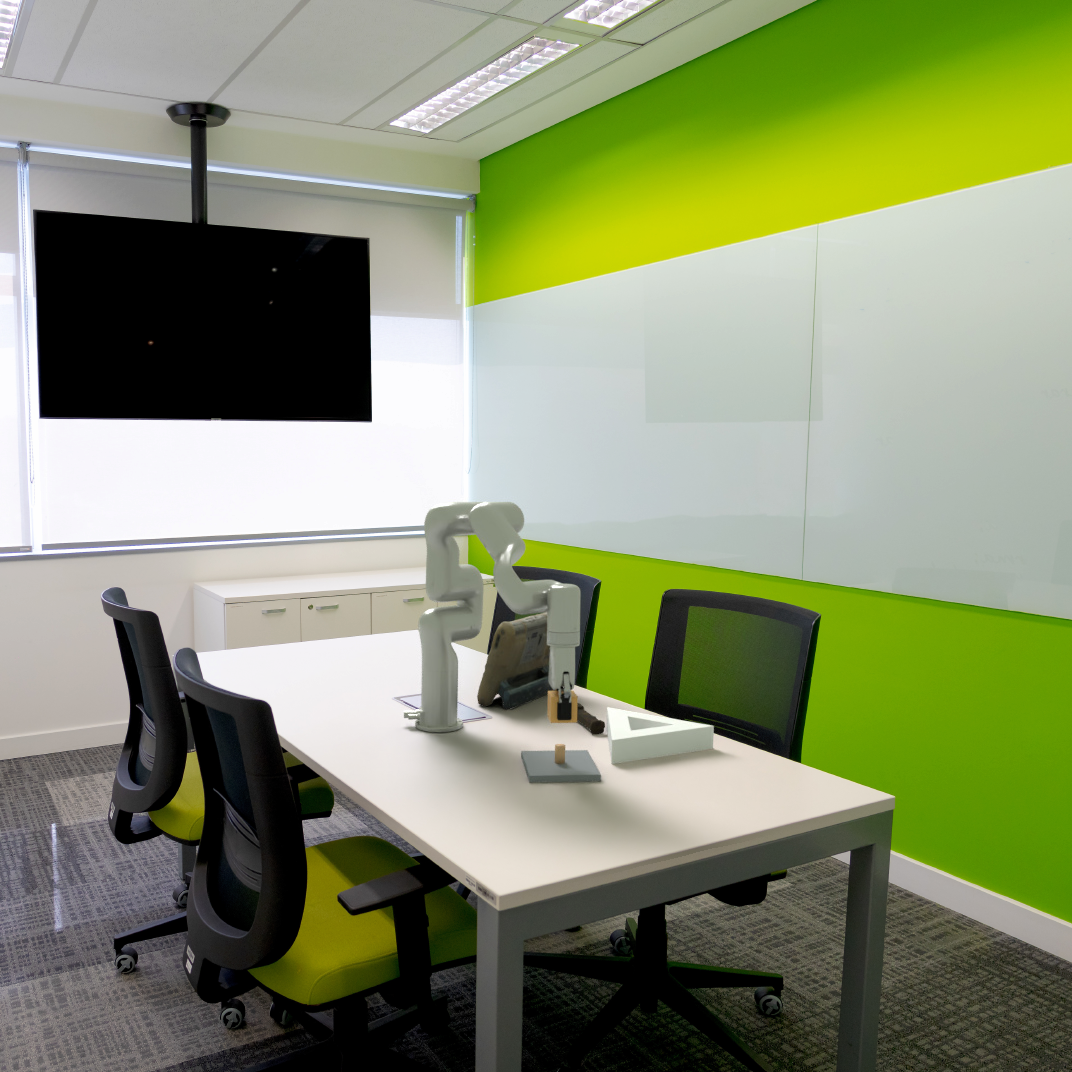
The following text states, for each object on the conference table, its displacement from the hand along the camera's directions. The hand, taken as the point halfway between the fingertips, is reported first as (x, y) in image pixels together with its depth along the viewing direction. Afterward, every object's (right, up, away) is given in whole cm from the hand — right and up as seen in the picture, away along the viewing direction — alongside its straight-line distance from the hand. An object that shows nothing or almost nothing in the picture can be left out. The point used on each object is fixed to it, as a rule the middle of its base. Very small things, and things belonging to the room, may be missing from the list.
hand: (562, 715), depth 225 cm
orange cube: (0, -1, 0) cm, 1 cm away
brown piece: (+7, -10, +38) cm, 40 cm away
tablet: (-11, -7, +67) cm, 68 cm away
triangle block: (+25, -12, +21) cm, 35 cm away
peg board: (-1, -13, +1) cm, 13 cm away
